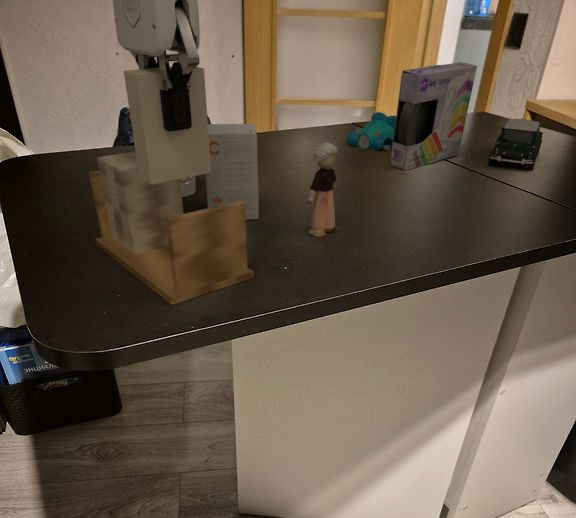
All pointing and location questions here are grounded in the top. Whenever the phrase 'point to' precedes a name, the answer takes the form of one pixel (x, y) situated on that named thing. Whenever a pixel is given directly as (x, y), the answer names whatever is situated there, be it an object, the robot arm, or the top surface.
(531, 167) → the miniature car
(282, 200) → the top surface
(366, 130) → the toy car
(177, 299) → the book rack
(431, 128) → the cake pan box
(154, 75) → the cream book
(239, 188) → the small box
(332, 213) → the grandmother figurine
